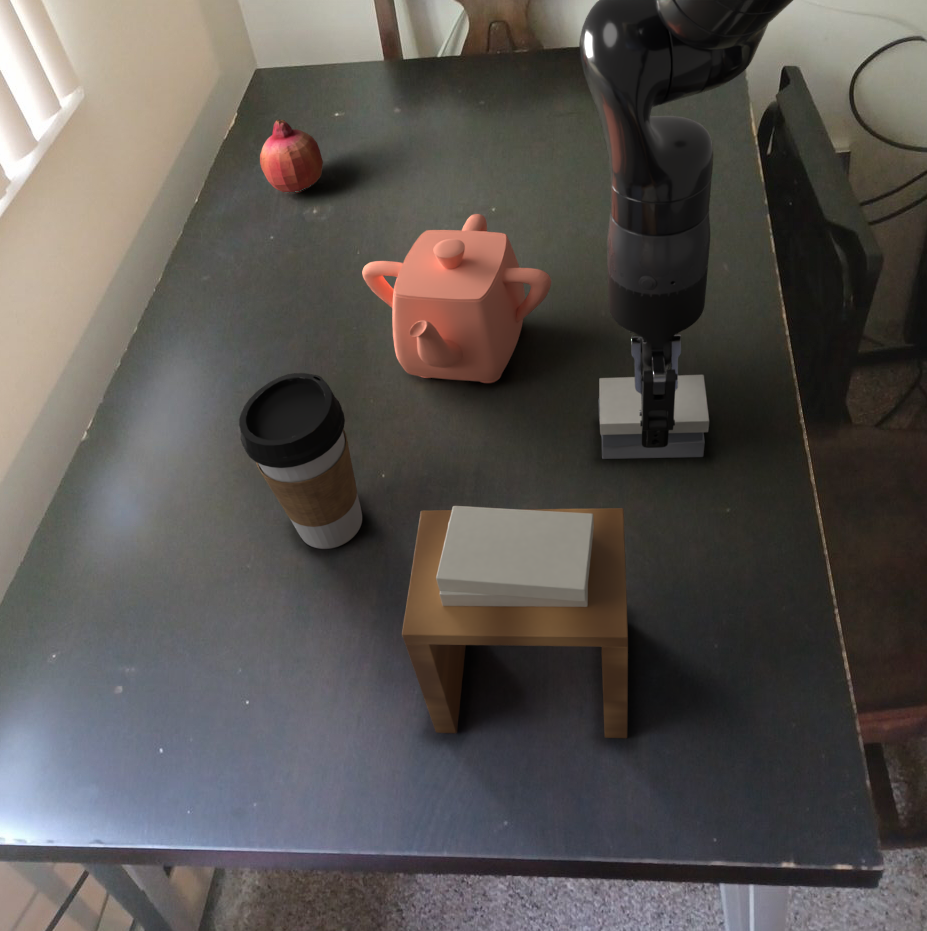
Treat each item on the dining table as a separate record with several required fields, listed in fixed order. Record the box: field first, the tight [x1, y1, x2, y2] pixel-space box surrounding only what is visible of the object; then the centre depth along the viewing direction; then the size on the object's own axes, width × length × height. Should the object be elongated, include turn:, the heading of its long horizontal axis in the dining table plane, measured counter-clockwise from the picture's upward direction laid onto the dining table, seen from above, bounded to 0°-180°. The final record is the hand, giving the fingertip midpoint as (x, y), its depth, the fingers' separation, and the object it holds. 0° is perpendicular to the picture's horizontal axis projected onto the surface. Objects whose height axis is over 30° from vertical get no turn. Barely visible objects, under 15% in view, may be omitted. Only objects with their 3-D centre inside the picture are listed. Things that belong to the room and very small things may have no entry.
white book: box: [598, 374, 710, 436], centre depth 80 cm, size 9×6×1 cm, turn 85°
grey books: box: [597, 397, 706, 460], centre depth 82 cm, size 9×5×4 cm, turn 85°
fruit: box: [259, 119, 324, 194], centre depth 118 cm, size 8×8×10 cm
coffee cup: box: [238, 372, 363, 550], centre depth 76 cm, size 8×8×15 cm
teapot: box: [361, 213, 552, 384], centre depth 90 cm, size 17×16×13 cm
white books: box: [436, 505, 594, 607], centre depth 58 cm, size 10×7×3 cm
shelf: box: [401, 507, 629, 739], centre depth 64 cm, size 14×10×14 cm
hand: (652, 409), depth 81 cm, fingers open, 8 cm apart
